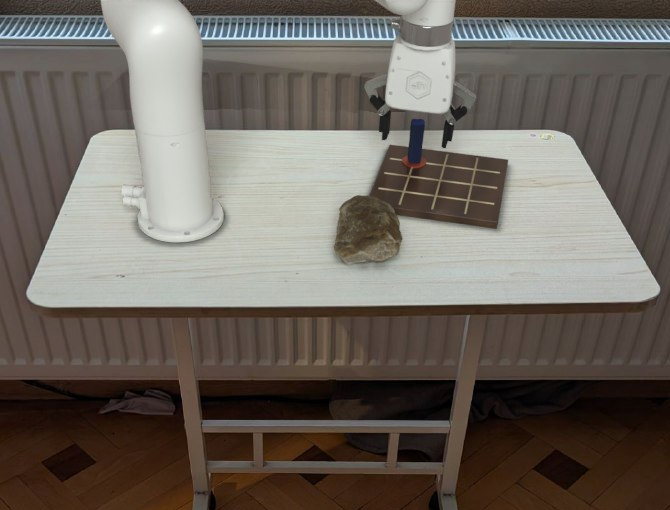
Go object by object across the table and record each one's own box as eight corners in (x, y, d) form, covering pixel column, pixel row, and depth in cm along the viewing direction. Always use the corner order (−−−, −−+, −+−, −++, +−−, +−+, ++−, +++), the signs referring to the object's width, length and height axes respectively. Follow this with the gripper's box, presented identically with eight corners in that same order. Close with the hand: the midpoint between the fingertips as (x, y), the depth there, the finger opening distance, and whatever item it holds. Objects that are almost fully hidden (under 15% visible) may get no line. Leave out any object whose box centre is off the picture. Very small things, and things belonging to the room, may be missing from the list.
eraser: (407, 157, 137) (410, 117, 132) (420, 157, 137) (424, 118, 132) (407, 163, 135) (411, 123, 130) (421, 164, 135) (425, 124, 130)
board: (365, 210, 127) (366, 202, 126) (389, 150, 141) (389, 143, 140) (496, 229, 124) (498, 220, 123) (507, 166, 138) (508, 158, 137)
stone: (326, 212, 123) (361, 174, 118) (366, 240, 126) (401, 204, 122) (330, 263, 114) (368, 223, 110) (373, 291, 117) (412, 253, 113)
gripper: (363, 33, 120) (357, 144, 132) (482, 47, 118) (465, 158, 130) (373, 15, 126) (366, 123, 137) (487, 28, 123) (471, 137, 135)
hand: (414, 140), depth 133 cm, fingers open, 9 cm apart
